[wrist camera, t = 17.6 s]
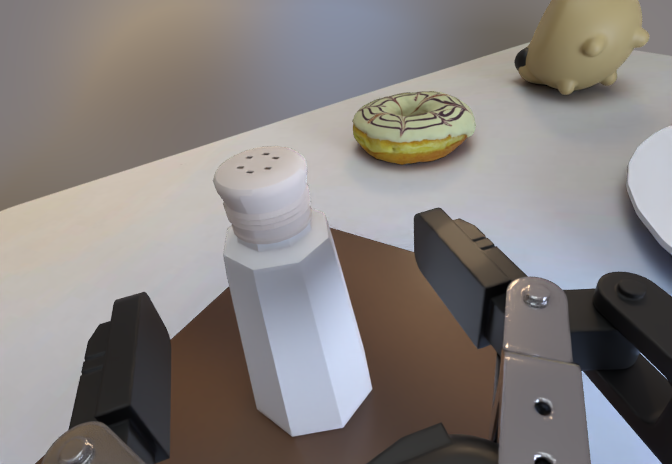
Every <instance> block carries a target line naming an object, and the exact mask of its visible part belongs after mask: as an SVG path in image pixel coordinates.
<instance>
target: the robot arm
mask: <svg viewBox="0 0 672 464" xmlns="http://www.w3.org/2000/svg"><path fill="white" fill-rule="evenodd" d="M414 254H415V259H416V263H417V265H418V268H419V270H420V271H421V273H422V274H423V276H424V277H425V278H426V280H427V281H428V282H429V284H430V285H431V286H432V288H433V289H434V291H435V292H436V293H437V295H438V296H439V297H440V299H441V300H442V301H443V303H444V304H445V305H446V307H447V308H448V310H449V311H450V312H451V314H452V315H453V316H454V318H455V319H456V320H457V322H458V323H459V325H460V326H461V327H462V329H463V330H464V331H465V333H466V334H467V335H468V337H469V338H470V340H471V341H472V342H473V344H474V345H475V346H476V348H477V349H480V348H483V347H486V346H489V345H492V347H493V348H494V349H495V350H496V358H495V370H494V383H493V396H492V409H491V420H490V428H489V436H488V440H487V439H484V438H480V437H477V436H471V435H465V434H448V433H447V431H446V429H445V427H444V426H443V424H442V422H441V423H438V424H435V425H433V426H430V427H428V428H425V429H422V430H420V431H417V432H415V433H412V434H409V435H407V436H404V437H402V438H400V439H399V440H397V441H396V442H395V443H393V444H392V445H391V446H389V447H388V448H387V449H385V450H384V451H383V452H381V453H380V454H379V455H377V456H376V457H375V458H373V459H372V460H371V461H369V462H368V463H366V464H591V460H590V450H589V441H588V431H587V421H586V411H585V401H584V391H583V382H582V373H581V371H583V372H584V373H585V374H586V375H587V376H588V377H589V379H590V380H591V381H592V382H593V383H594V384H595V386H596V387H597V388H598V389H599V390H600V392H601V393H602V394H603V395H604V396H605V397H606V399H607V400H608V401H609V402H610V403H611V404H612V406H613V407H614V408H615V409H616V410H617V411H618V413H619V414H620V415H621V416H622V417H623V418H624V420H625V421H626V422H627V423H628V424H629V425H630V427H631V428H632V429H633V430H634V431H635V432H636V434H637V435H638V436H639V437H640V438H641V439H642V441H643V442H644V443H645V444H646V445H647V446H648V448H649V449H650V450H651V451H652V452H653V453H654V455H655V456H656V457H657V458H658V459H659V460H660V462H661V463H662V464H672V297H671V296H670V295H669V294H668V293H666V292H665V291H664V290H663V289H661V288H660V287H659V286H657V285H656V284H655V283H653V282H652V281H650V280H649V279H647V278H645V277H642V276H640V275H637V274H633V273H629V272H611V273H608V274H605V275H603V276H602V277H601V278H600V279H599V281H598V284H597V287H596V289H578V290H562V289H561V288H560V287H559V286H557V285H556V284H555V283H553V282H551V281H549V280H546V279H543V278H539V277H528V276H527V275H526V274H525V273H524V272H523V271H522V270H520V269H519V268H518V267H517V266H516V265H515V264H514V263H513V262H512V261H511V260H510V259H509V258H508V257H507V256H506V255H505V254H504V253H503V252H502V251H501V250H500V249H499V248H498V247H497V246H496V247H495V246H494V244H493V243H492V242H491V241H490V240H489V239H488V238H486V237H485V235H484V234H483V233H482V232H481V231H480V230H479V229H478V228H477V227H476V226H475V225H472V224H470V223H468V222H466V221H464V220H462V219H456V220H452V219H451V218H450V217H449V216H448V215H447V214H446V213H445V212H444V211H443V210H442V209H441V208H435V209H432V210H428V211H425V212H421V213H418V214H416V215H415V216H414ZM640 352H641V353H642V354H643V355H644V356H645V357H646V358H647V359H648V360H649V361H650V362H651V363H652V364H653V365H654V366H655V367H656V368H657V369H658V370H659V371H660V372H661V373H662V374H663V375H664V376H665V377H666V378H667V379H666V378H665V377H664V376H663V375H662V374H661V373H660V372H659V371H658V370H657V369H656V368H655V367H654V366H653V365H651V364H650V363H649V362H648V361H647V360H646V359H645V358H644V357H643V356H642V355H641V354H640ZM84 359H85V361H84V362H83V367H82V371H81V373H82V376H80V381H79V385H78V390H77V394H76V399H75V403H74V408H73V412H72V417H71V421H70V426H69V430H68V431H67V432H65V433H64V434H63V435H61V436H60V437H59V438H58V439H57V440H56V441H55V442H54V443H53V444H52V446H51V447H50V448H49V450H48V451H47V453H46V454H45V456H44V458H43V461H42V463H41V464H155V463H158V462H161V461H163V460H166V459H169V458H170V418H171V342H170V337H169V334H168V331H167V329H166V327H165V325H164V323H163V321H162V320H161V318H160V316H159V314H158V312H157V310H156V309H155V307H154V305H153V303H152V301H151V300H150V298H149V296H148V295H147V293H145V292H142V293H138V294H135V295H131V296H128V297H124V298H121V299H118V300H115V302H114V305H113V311H112V316H111V321H109V322H106V323H102V324H99V326H98V327H97V329H96V330H95V332H94V333H93V335H92V336H91V338H90V339H89V341H88V344H87V349H86V353H85V358H84Z"/></svg>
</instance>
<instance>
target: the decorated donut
mask: <svg viewBox="0 0 672 464" xmlns="http://www.w3.org/2000/svg"><path fill="white" fill-rule="evenodd" d="M475 126H476V124H475V120H474V116H473V113H472V111H471V109H470V108H469V107H468V106H467V105H466V104H465V103H463V102H462V101H460V100H459V99H457V98H455V97H453V96H450V95H447V94H445V93H441V92H435V91H429V92H416V93H401V94H397V95H393V96H389V97H384V98H381V99H377V100H374V101H372V102H370V103H368V104H366V105H364V106H363V107H362V108H361V109H359V110H358V112H357V113H356V114H355V116H354V119H353V134H354V137H355V139H356V140H357V142H358V143H359V144H360V146H362V147H363V149H365V150H366V152H367V153H368V154H370V155H371V156H373V157H375V158H376V159H381V160H384V161H387V162H391V163H397V164H401V165H403V164H407V163H417V162H426V161H434V160H436V159H439V158H443V157H445V156H446V155H448V154H449V153H451V152H452V151H454V150H455V149H456V148H457V147H458V146H459V145H460V144H461V143H462V142H463V141H464V140H465V139H466V138H468V137H470V136H471V135H472V134H473V133H474V131H475Z"/></svg>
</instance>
